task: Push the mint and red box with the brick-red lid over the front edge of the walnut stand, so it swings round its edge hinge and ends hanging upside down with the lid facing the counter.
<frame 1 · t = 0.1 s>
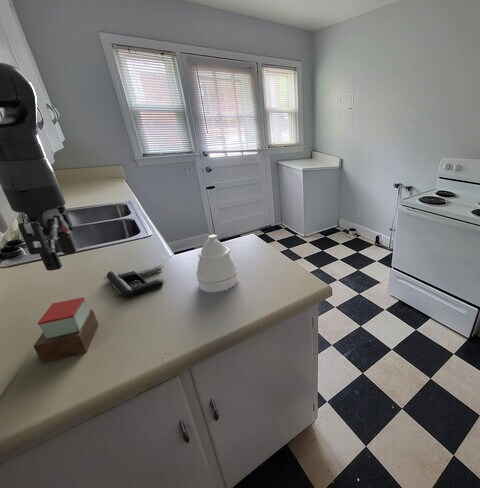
hand: (63, 260, 57), 23 cm above the countertop, tool pointing down, fingers open, 8 cm apart
mint and red box: (66, 317, 65), point 8 cm above the countertop, hinge at -0.2°
honey pot: (219, 282, 94), on the countertop
stand: (73, 342, 67), on the countertop
door handle: (140, 282, 94), on the countertop
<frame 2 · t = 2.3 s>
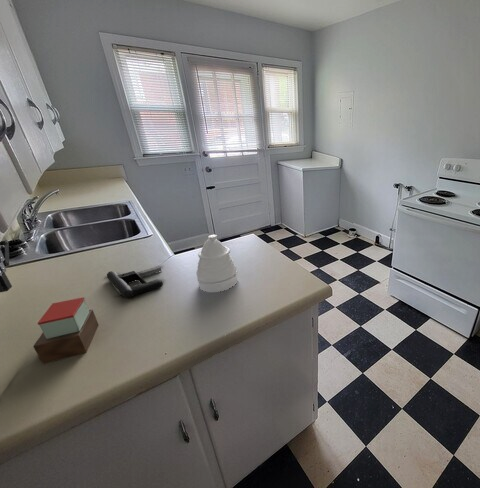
hand: (4, 290, 58), 17 cm above the countertop, tool pointing down, fingers closed
nothing on the countertop moved.
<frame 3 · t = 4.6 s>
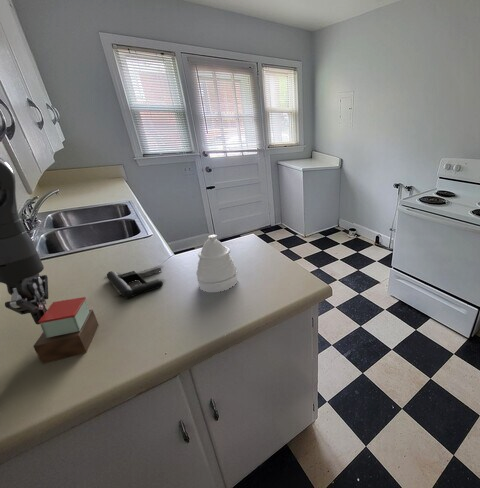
hand: (43, 321, 63), 8 cm above the countertop, tool pointing down, fingers closed
mint and red box: (66, 316, 65), point 8 cm above the countertop, hinge at 2.6°, touching gripper
everything else where it was.
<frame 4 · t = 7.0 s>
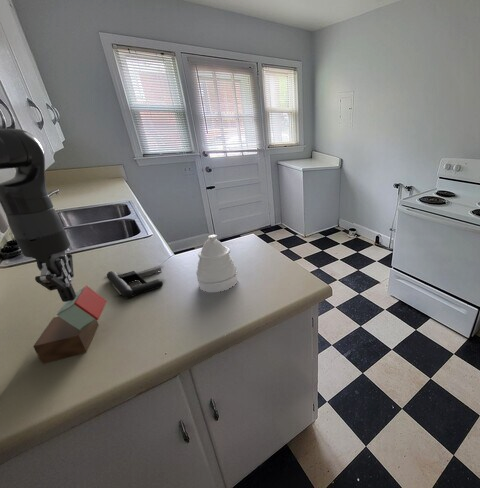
hand: (69, 299, 64), 12 cm above the countertop, tool pointing down, fingers closed
mint and red box: (83, 307, 66), point 9 cm above the countertop, hinge at 63.0°
everything else where it was.
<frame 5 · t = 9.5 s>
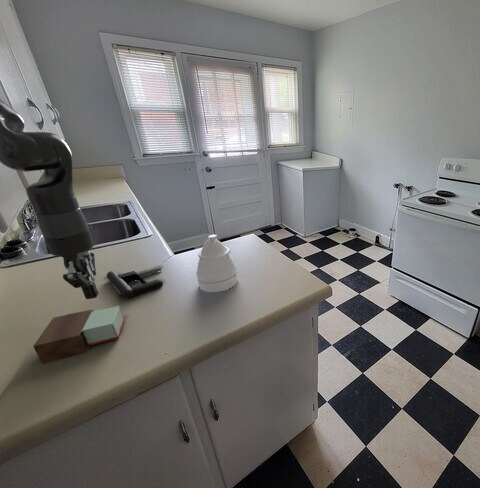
hand: (92, 297, 66), 12 cm above the countertop, tool pointing down, fingers closed
mint and red box: (104, 324, 69), point 3 cm above the countertop, hinge at 180.2°
everything else where it was.
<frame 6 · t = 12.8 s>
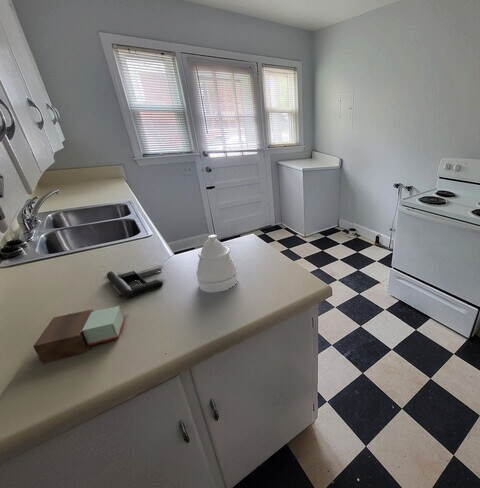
nothing on the countertop moved.
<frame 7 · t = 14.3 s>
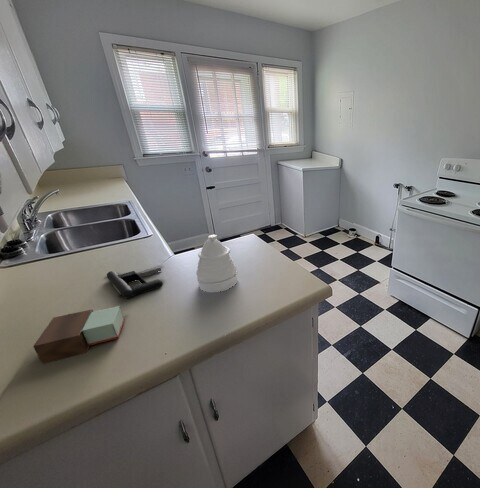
nothing on the countertop moved.
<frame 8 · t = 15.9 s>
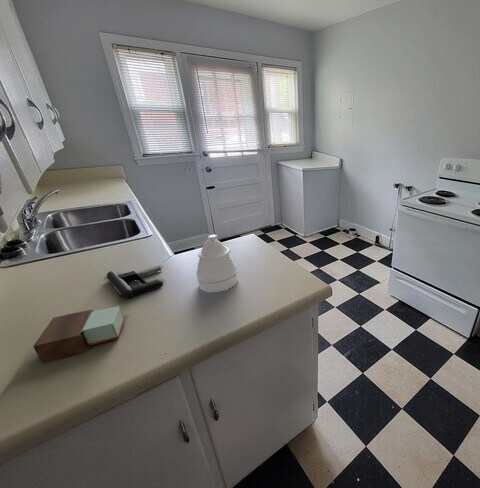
nothing on the countertop moved.
at the end: mint and red box at +180° (first picture: +0°); door handle moved 0.2 cm from its start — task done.
